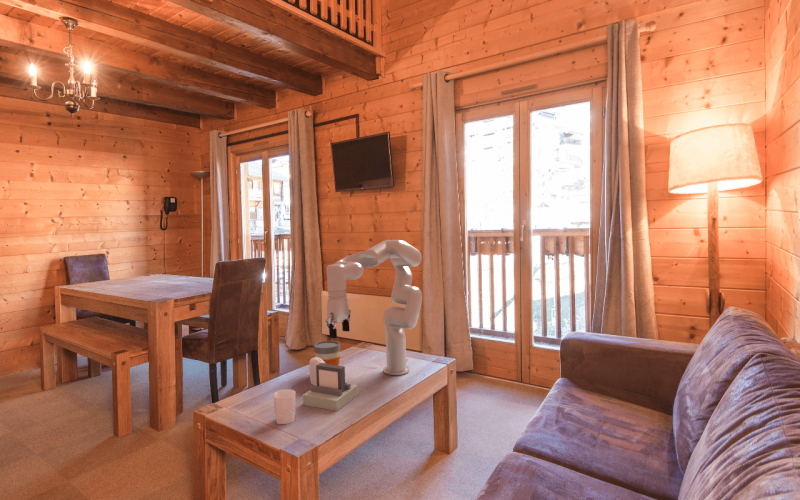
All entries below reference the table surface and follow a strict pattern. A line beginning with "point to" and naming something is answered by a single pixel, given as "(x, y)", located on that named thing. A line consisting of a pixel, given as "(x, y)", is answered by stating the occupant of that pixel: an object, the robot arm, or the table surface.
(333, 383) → the thin grey panel
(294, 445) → the table surface
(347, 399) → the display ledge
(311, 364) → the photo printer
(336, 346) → the reusable coffee cup
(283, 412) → the white cup
